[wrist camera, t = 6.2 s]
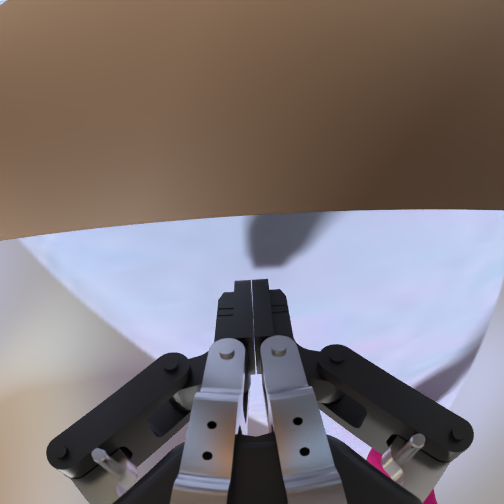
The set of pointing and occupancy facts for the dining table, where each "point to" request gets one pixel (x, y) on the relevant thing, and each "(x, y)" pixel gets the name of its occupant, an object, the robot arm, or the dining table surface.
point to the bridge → (246, 109)
